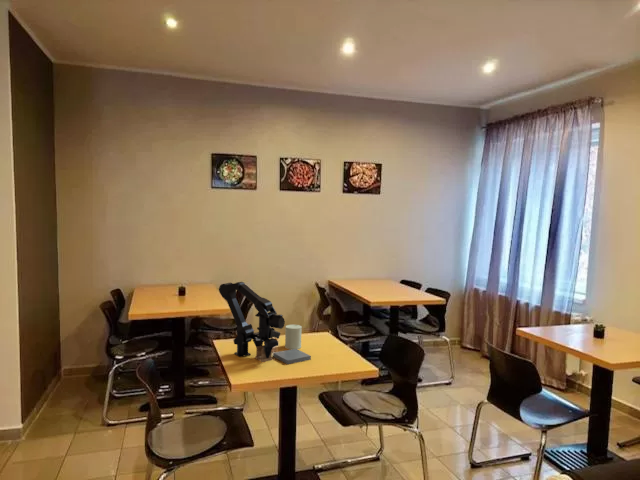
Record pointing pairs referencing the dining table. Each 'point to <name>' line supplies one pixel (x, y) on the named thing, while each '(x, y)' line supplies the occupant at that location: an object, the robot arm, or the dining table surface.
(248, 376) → the dining table surface
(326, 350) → the dining table surface
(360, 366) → the dining table surface
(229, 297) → the robot arm
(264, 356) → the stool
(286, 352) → the slab
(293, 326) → the can
